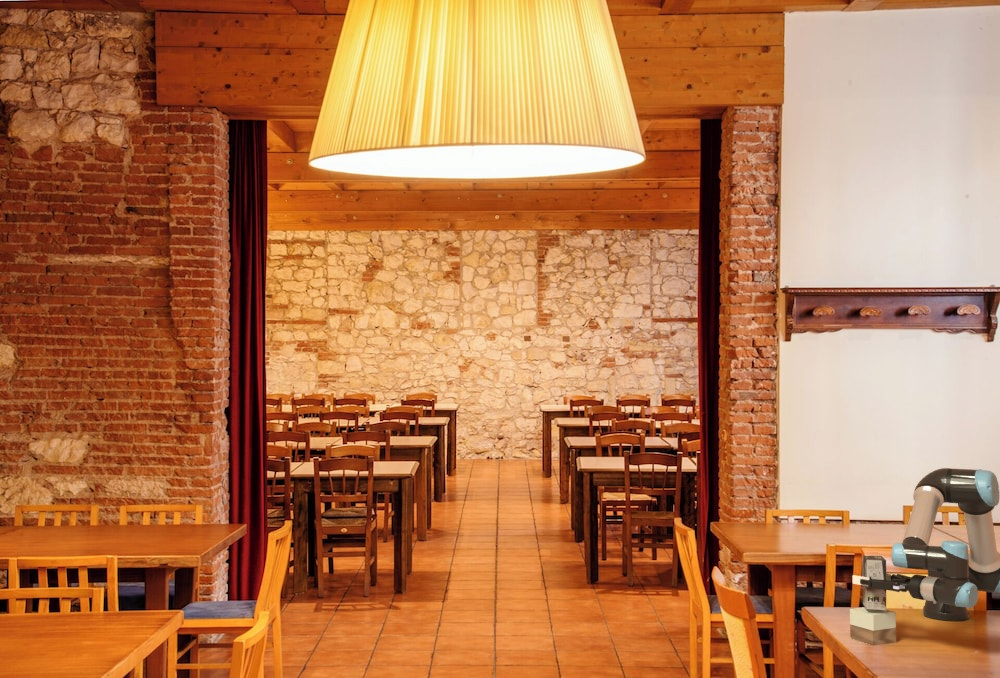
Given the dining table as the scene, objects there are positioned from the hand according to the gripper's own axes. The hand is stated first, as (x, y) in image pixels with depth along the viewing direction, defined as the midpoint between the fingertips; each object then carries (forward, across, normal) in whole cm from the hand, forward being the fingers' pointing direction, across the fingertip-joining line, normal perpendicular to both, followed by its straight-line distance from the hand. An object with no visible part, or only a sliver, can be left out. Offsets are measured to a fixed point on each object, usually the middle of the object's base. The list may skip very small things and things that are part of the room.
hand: (862, 577), depth 343 cm
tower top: (-3, 0, -15) cm, 16 cm away
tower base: (-4, 0, -20) cm, 21 cm away
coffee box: (-4, 0, -9) cm, 10 cm away
